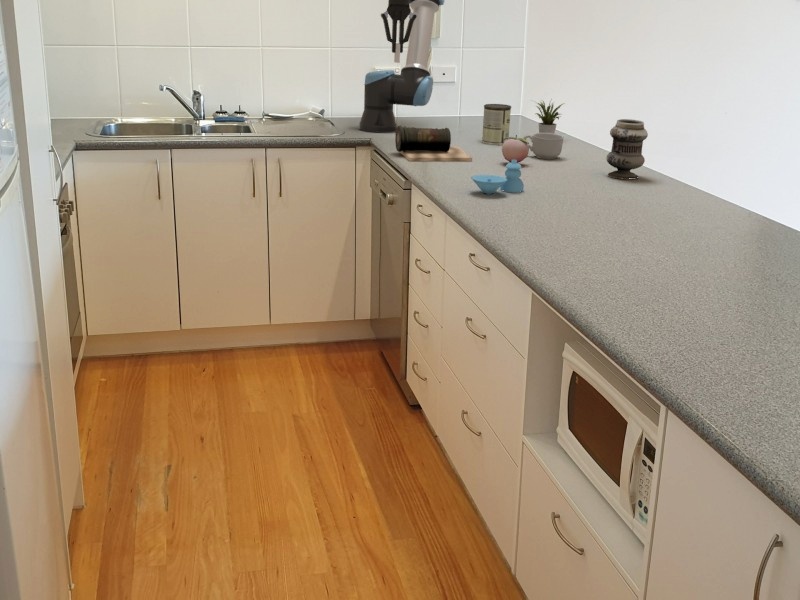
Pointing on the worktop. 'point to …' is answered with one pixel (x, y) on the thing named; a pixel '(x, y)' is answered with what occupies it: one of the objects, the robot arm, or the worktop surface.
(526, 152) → the decorative fruit
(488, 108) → the coffee can
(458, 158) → the wooden cutting board
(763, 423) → the worktop surface
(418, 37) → the robot arm
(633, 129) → the apothecary jar
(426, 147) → the container
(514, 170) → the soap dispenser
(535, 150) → the teacup
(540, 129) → the house plant
